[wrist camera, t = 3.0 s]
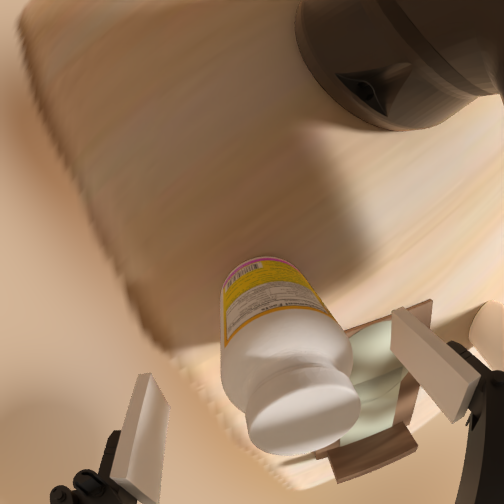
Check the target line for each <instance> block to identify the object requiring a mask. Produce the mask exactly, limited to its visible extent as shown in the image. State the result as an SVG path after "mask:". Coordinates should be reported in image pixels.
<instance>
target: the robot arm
mask: <svg viewBox="0 0 504 504" xmlns="http://www.w3.org/2000/svg"><path fill="white" fill-rule="evenodd" d="M295 33H296V39H297V43H298V46H299V49H300V52H301V54H302V57H303V59H304V61H305V63H306V65H307V66H308V68H309V70H310V71H311V73H312V74H313V76H314V77H315V79H316V80H317V81H318V83H319V84H320V85H321V86H322V87H323V89H324V90H325V91H326V92H327V93H328V94H329V95H330V96H331V97H332V98H333V99H334V100H335V101H336V102H338V103H339V104H340V105H341V106H342V107H344V108H345V109H346V110H348V111H349V112H351V113H352V114H353V115H355V116H357V117H358V118H360V119H362V120H364V121H366V122H368V123H370V124H372V125H375V126H377V127H381V128H384V129H388V130H394V131H411V130H419V129H426V128H430V127H434V126H436V125H438V124H441V123H442V122H444V121H446V120H447V119H448V118H450V117H451V116H453V115H454V114H455V113H457V112H458V111H460V110H461V109H462V108H464V107H465V106H467V105H468V104H469V103H471V102H472V101H474V100H475V99H476V98H478V97H480V96H486V95H493V94H500V96H501V98H502V101H503V104H504V0H301V2H300V4H299V6H298V9H297V12H296V17H295ZM390 350H391V351H392V353H393V354H394V355H395V356H396V357H397V358H398V359H399V361H400V362H401V363H402V364H403V365H404V366H405V368H406V369H407V370H408V371H409V372H410V373H411V375H412V376H413V377H414V378H415V379H416V380H417V382H418V383H419V384H420V385H421V386H422V388H423V389H424V390H425V391H426V392H427V394H428V395H429V396H430V397H431V398H432V400H433V401H434V402H435V403H436V404H437V406H438V407H439V408H440V409H441V411H442V412H443V413H444V414H445V415H446V417H447V418H448V419H449V420H450V422H451V423H452V424H453V423H455V422H456V421H458V420H459V419H461V418H462V417H464V415H465V413H466V411H467V409H469V410H470V411H471V414H470V416H469V418H468V420H467V422H466V426H467V425H468V423H469V432H468V440H467V448H466V454H465V460H464V467H463V472H462V477H461V481H460V485H459V490H458V494H457V498H456V502H455V504H504V372H503V371H501V370H494V371H491V370H490V369H489V368H487V367H486V366H485V365H484V364H483V363H482V362H481V361H480V360H478V359H477V358H476V357H475V356H474V355H472V353H470V352H469V351H467V349H466V348H465V347H463V346H462V345H461V344H459V343H457V342H454V341H450V342H448V343H447V344H446V343H445V342H444V341H443V340H442V339H441V338H439V337H438V336H437V335H436V334H435V333H434V332H433V331H431V330H430V329H429V328H428V327H427V326H426V325H424V324H423V323H422V322H421V321H420V320H418V319H417V318H416V317H415V316H414V315H413V314H411V313H410V312H409V311H408V310H407V309H405V308H404V307H401V308H398V309H396V310H393V311H392V323H391V343H390ZM169 413H170V405H169V404H168V402H167V401H166V399H165V397H164V395H163V393H162V392H161V390H160V388H159V386H158V385H157V383H156V381H155V379H154V377H153V375H152V374H151V373H146V374H139V375H138V378H137V381H136V384H135V387H134V390H133V393H132V396H131V400H130V403H129V407H128V410H127V413H126V417H125V420H124V424H123V427H122V430H118V431H117V430H116V431H115V430H114V431H113V433H112V434H111V435H110V436H109V438H108V440H107V444H106V448H105V450H104V455H103V457H102V461H101V464H100V468H99V472H98V474H97V473H95V472H94V471H92V470H90V469H85V470H82V471H80V472H78V473H77V474H76V476H75V477H74V479H73V486H74V488H75V489H76V490H73V491H71V490H70V489H69V488H67V487H66V486H63V485H59V486H56V487H55V488H54V489H52V491H51V493H50V504H137V500H138V501H139V502H141V503H142V504H159V499H160V489H161V478H162V468H163V460H164V451H165V443H166V435H167V428H168V421H169Z"/></svg>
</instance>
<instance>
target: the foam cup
mask: <svg viewBox="0 0 504 504" xmlns="http://www.w3.org/2000/svg"><path fill="white" fill-rule="evenodd" d="M469 340H470V342H471V343H472V345H473V346H474V347H475V348H476V350H477V351H478V352H479V353H480V355H481V356H482V357H483V358H484V359H485V361H486V362H487V363H488V365H489V366H490V367H491V368H492V370H493V371H494V370H501V371H503V372H504V304H503V303H500V302H498V301H494V300H491V301H488V302H487V303H485V304H484V305H483V306H482V307H481V308H480V310H479V311H478V313H477V314H476V316H475V317H474V320H473V322H472V324H471V326H470V331H469Z"/></svg>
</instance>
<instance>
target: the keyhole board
mask: <svg viewBox="0 0 504 504" xmlns="http://www.w3.org/2000/svg"><path fill="white" fill-rule="evenodd" d="M432 304H433V300H431V299H429V300H427V301H425V302H422V303H420V304H417V305H415V306H412V307H410V308H407V310H408V311H409V312H410V313H411V314H413V315H414V316H415V317H416V318H417V319H418V320H420V321H421V322H422V323H423V324H424V325H426V326H427V327H428V328H429V329H430V323H431V314H432ZM391 323H392V315H389V316H386V317H383V318H381V319H378V320H375V321H372V322H369V323H367V324H364V325H361V326H358V327H355V328H352V329H349V330H346V331H344V332H345V334H346V335H347V337H348V339H349V341H350V343H351V347H352V351H353V366H352V371H351V375H350V377H349V379H350V381H351V382H352V384H353V387H354V389H355V390H356V392H357V394H358V396H359V398H360V401H361V412H360V415H359V418H358V420H357V421H356V423H355V424H354V426H353V427H352V428H351V429H350V430H349V431H348V432H347V433H346V434H345V435H344V436H343V437H341V438H340V439H338V440H337V441H335V442H334V443H332V444H330V445H328V446H326V447H324V448H321V449H319V450H316V451H315V454H316V460H319V459H322V458H326V457H328V459H329V461H330V464H331V467H332V470H333V473H334V475H335V478H336V481H337V484H339V483H342V482H345V481H348V480H351V479H353V478H356V477H359V476H362V475H364V474H367V473H369V472H372V471H374V470H377V469H379V468H381V467H384V466H386V465H388V464H390V463H393V462H395V461H397V460H399V459H401V458H403V457H405V456H408V455H410V454H411V453H413V452H415V451H416V450H417V447H418V444H417V443H416V441H415V440H414V438H413V437H412V435H411V433H410V432H409V430H408V429H407V427H406V426H407V425H409V424H410V421H411V417H412V414H413V410H414V406H415V403H416V399H417V395H418V391H419V386H420V384H419V383H418V382H417V380H416V379H415V378H414V377H413V376H412V375H411V373H410V372H409V371H408V370H407V369H406V368H405V366H404V365H403V364H402V363H401V362H400V361H399V359H398V358H397V357H396V356H395V355H394V354H393V353H392V351H391V350H390V343H391Z"/></svg>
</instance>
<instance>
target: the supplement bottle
mask: <svg viewBox="0 0 504 504" xmlns="http://www.w3.org/2000/svg"><path fill="white" fill-rule="evenodd" d="M220 345H221V381H222V385H223V389H224V391H225V393H226V395H227V396H228V398H229V400H230V401H231V402H232V403H233V404H234V405H235V406H236V407H237V408H238V409H239V410H241V411H242V412H244V413H245V417H246V423H247V429H248V434H249V437H250V440H251V441H252V443H253V444H254V445H255V446H256V447H257V448H259V449H261V450H262V451H264V452H267V453H270V454H275V455H284V456H290V455H299V454H305V453H309V452H313V451H316V450H319V449H321V448H324V447H326V446H328V445H330V444H332V443H334V442H335V441H337V440H338V439H340V438H341V437H343V436H344V435H345V434H346V433H347V432H348V431H349V430H350V429H351V428H352V427H353V426H354V424H355V423H356V421H357V420H358V418H359V415H360V412H361V401H360V398H359V396H358V394H357V392H356V390H355V389H354V387H353V384H352V382H351V381H350V379H349V377H350V375H351V371H352V366H353V351H352V347H351V343H350V341H349V339H348V337H347V335H346V334H345V332H344V331H343V329H342V328H341V326H340V325H339V324H338V322H337V321H336V320H335V318H334V317H333V316H332V314H331V313H330V311H329V310H328V309H327V307H326V306H325V305H324V303H323V302H322V301H321V299H320V298H319V296H318V295H317V294H316V292H315V291H314V289H313V288H312V287H311V286H310V284H309V283H308V282H307V280H306V279H305V278H304V276H303V275H302V274H301V272H300V271H299V270H298V269H297V268H296V267H295V266H294V265H292V264H291V263H289V262H288V261H285V260H283V259H280V258H277V257H267V256H266V257H257V258H253V259H250V260H247V261H245V262H243V263H241V264H240V265H238V266H237V267H236V268H235V269H234V270H233V271H232V272H231V273H230V274H229V275H228V277H227V278H226V280H225V282H224V284H223V286H222V289H221V294H220Z"/></svg>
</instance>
